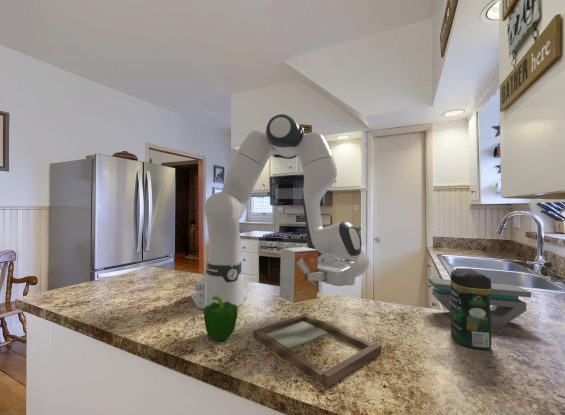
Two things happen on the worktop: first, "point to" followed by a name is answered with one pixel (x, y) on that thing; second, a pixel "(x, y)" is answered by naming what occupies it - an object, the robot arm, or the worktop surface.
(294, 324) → the brown wooden frame
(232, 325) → the bell pepper
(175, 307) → the worktop surface
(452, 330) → the coffee jar
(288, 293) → the small box
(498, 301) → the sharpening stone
